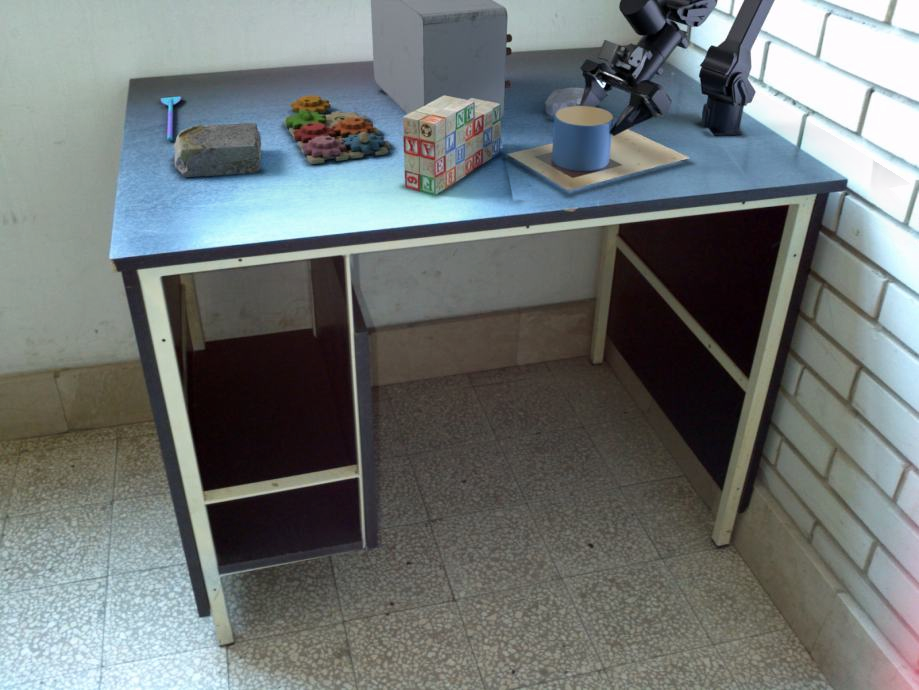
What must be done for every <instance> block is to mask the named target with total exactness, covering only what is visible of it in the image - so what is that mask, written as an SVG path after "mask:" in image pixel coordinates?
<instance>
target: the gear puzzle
mask: <svg viewBox="0 0 919 690" xmlns="http://www.w3.org/2000/svg"><path fill="white" fill-rule="evenodd" d="M331 108H332V105H331V104H330V101H329V100H328V99H324V98H323V99H322V98H321V96H318V95H316V94H313V95H312V94H311V95H310V94H307V95H302V96H301V97H299V98H296V100H295V101H294V102H291V103H290V109H291V112H292V113H293V114H292V115H289V116H288V117H285V119H284V121H283V122H284V126H285V127H286V128H289V130H288V131H289V133H290V135H291V136H292V139H293V140H294V141H295V142H297V147H299V149H301V152H302V154H303V155H304V156H306V160H307V162H308V163H309V164H311V165H316V164H324V163H325V160H335V161H336V162H340V161H346V160H349V159H353V160H354V159H355V160H356V159H360V158H361V159H362V158H364V155H371V154H374V155H375V156H382V155H387V154H388V153H389V149H391V148H392V147H391V146H392V144H391V143H390V142H389V141H388V140H385V137H384V136H383V135H380V130H379V129H378V128H377V127H376V126H374V123H373V122H369V120H368V119H369V118H368V117H367V115H365V114H363V115H359V114H358V113H357V112H356V111H348V112H343V111H342V110H339V111H338V110H337V111H331V113H330V114H324V113H326V111H327V110H330V109H331Z"/></svg>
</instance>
